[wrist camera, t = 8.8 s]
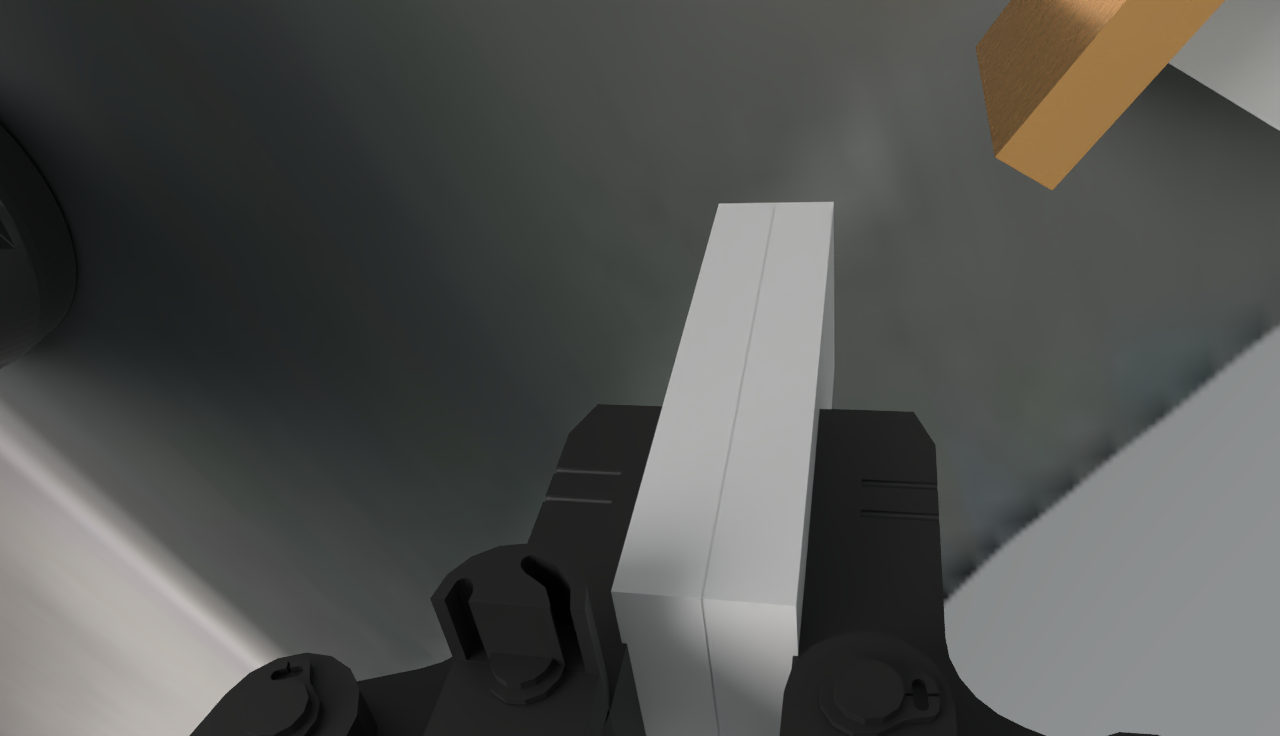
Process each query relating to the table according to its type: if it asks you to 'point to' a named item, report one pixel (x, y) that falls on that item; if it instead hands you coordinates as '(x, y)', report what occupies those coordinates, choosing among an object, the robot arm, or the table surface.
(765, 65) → the table surface
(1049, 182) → the turntable
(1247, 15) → the turntable base
